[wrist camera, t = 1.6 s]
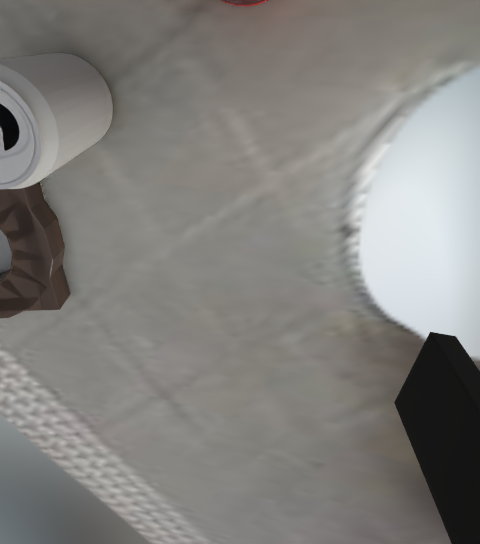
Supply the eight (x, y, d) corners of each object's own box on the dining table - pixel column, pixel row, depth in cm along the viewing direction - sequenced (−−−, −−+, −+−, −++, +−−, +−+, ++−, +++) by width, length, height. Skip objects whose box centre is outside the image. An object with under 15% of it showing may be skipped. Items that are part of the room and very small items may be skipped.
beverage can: (133, 118, 33) (75, 158, 23) (66, 161, 35) (-17, 218, 24) (77, 32, 31) (-18, 32, 20) (8, 84, 32) (-114, 109, 22)
